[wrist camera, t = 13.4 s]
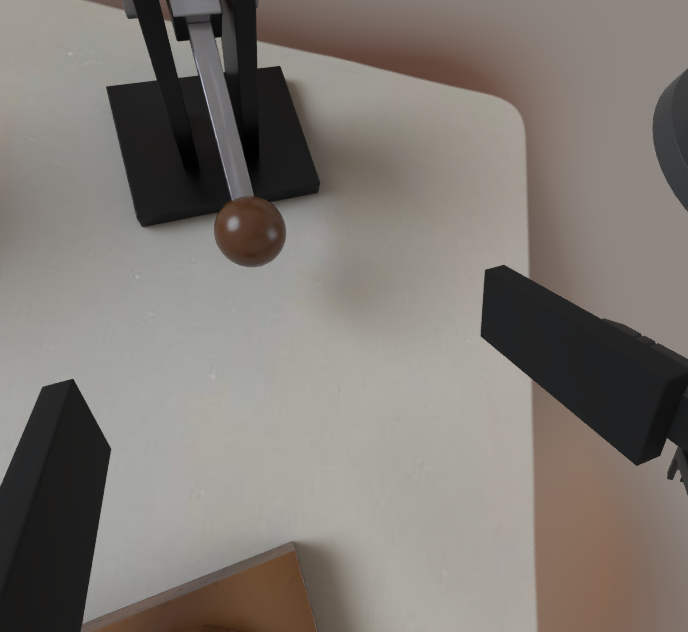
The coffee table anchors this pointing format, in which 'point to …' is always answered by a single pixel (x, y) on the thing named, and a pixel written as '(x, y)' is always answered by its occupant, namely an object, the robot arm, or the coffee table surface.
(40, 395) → the robot arm
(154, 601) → the brown button base
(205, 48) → the lever with brown knob
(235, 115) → the black lever base
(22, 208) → the coffee table surface
